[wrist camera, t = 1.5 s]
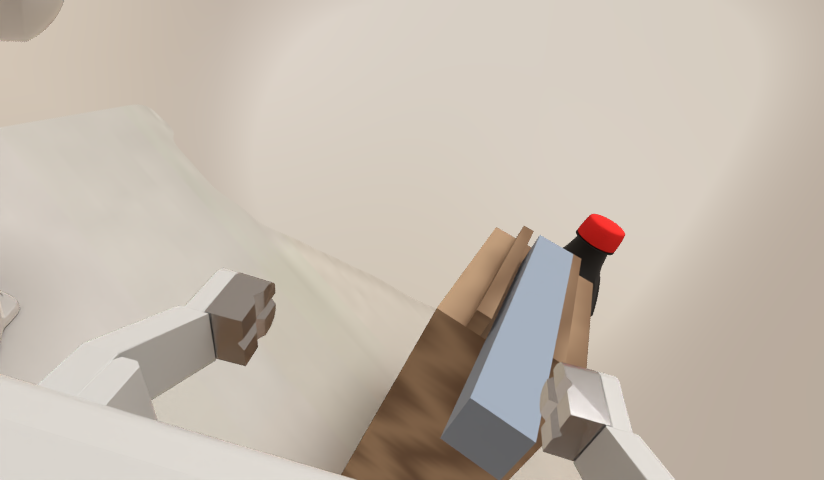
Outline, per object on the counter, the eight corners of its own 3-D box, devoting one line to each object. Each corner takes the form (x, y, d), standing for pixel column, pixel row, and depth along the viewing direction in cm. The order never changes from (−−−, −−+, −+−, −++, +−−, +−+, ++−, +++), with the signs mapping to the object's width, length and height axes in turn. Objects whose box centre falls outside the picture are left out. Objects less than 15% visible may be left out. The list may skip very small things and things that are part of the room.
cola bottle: (468, 367, 61) (588, 195, 46) (512, 413, 57) (659, 241, 42) (432, 391, 54) (557, 201, 40) (478, 445, 51) (636, 256, 36)
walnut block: (324, 504, 39) (446, 290, 25) (398, 392, 52) (504, 214, 39) (413, 576, 37) (599, 387, 23) (466, 440, 50) (602, 271, 37)
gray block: (440, 438, 18) (470, 397, 17) (521, 262, 35) (539, 234, 34) (499, 480, 18) (535, 442, 16) (553, 281, 35) (573, 254, 33)
